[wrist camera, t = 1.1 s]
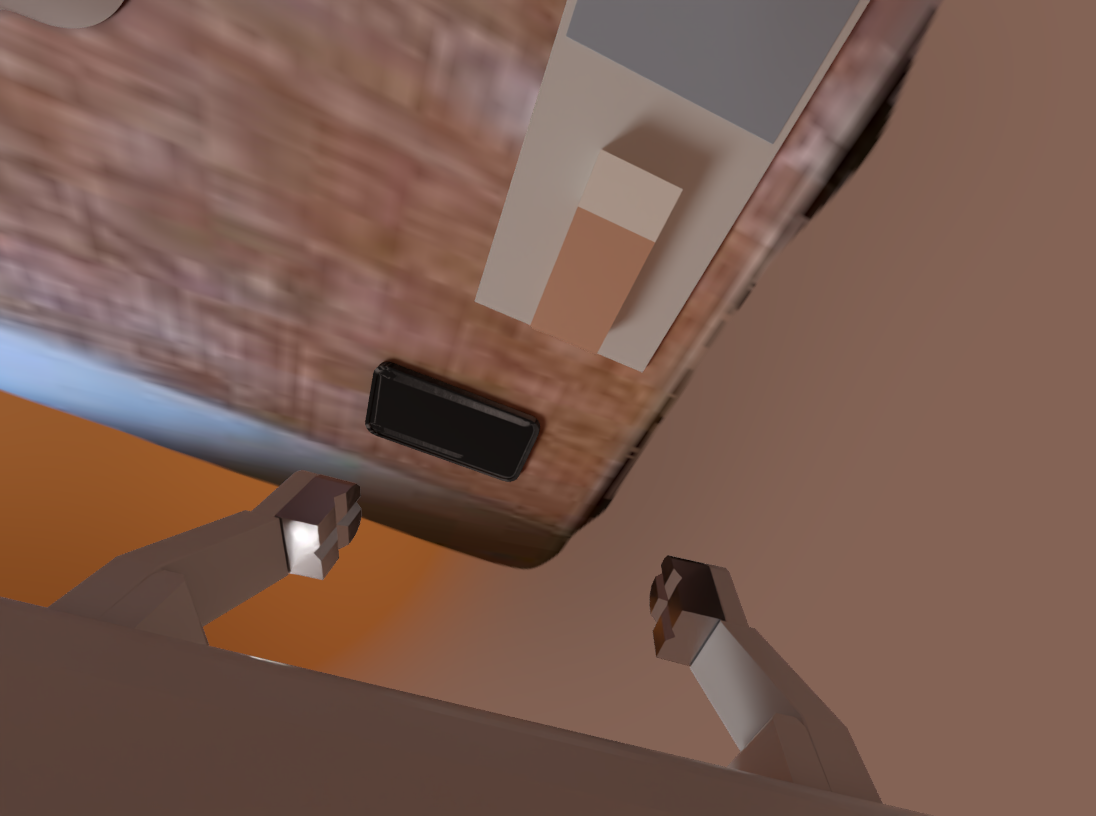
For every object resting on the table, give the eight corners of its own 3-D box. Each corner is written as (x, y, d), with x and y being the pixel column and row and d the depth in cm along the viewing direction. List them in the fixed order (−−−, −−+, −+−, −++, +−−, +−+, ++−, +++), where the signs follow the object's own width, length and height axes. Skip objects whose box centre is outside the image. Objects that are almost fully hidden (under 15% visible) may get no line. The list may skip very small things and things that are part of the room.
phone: (375, 361, 33) (542, 425, 35) (381, 356, 34) (544, 418, 36) (363, 432, 38) (514, 485, 39) (369, 425, 38) (516, 478, 40)
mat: (476, 298, 30) (474, 301, 30) (651, -265, 17) (652, -280, 16) (641, 369, 32) (642, 372, 32) (921, -91, 19) (932, -100, 18)
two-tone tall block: (596, 338, 31) (596, 355, 28) (535, 312, 30) (529, 327, 27) (674, 185, 25) (683, 189, 22) (600, 149, 24) (601, 149, 22)
